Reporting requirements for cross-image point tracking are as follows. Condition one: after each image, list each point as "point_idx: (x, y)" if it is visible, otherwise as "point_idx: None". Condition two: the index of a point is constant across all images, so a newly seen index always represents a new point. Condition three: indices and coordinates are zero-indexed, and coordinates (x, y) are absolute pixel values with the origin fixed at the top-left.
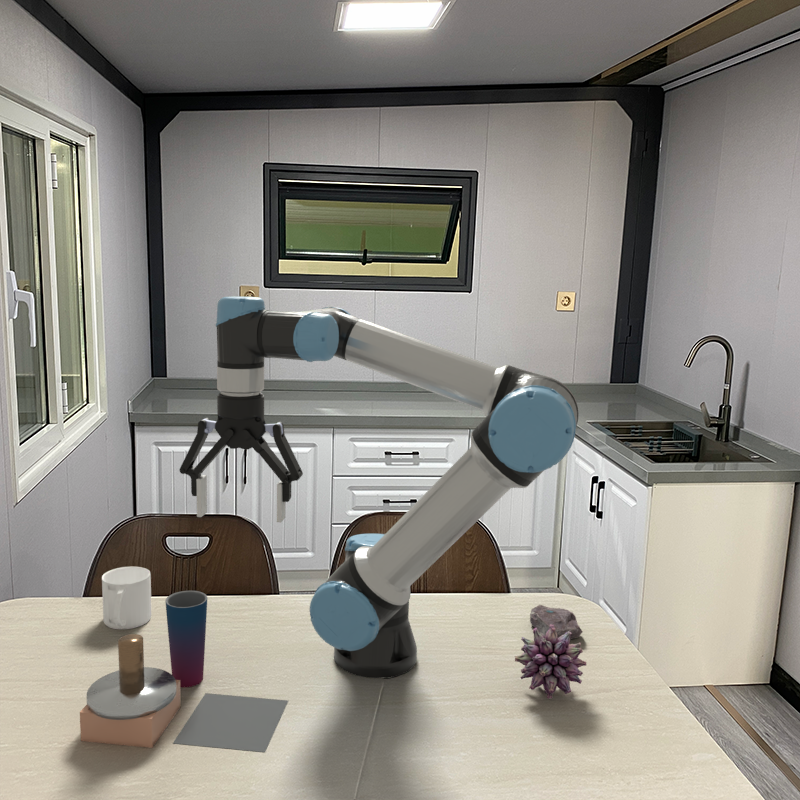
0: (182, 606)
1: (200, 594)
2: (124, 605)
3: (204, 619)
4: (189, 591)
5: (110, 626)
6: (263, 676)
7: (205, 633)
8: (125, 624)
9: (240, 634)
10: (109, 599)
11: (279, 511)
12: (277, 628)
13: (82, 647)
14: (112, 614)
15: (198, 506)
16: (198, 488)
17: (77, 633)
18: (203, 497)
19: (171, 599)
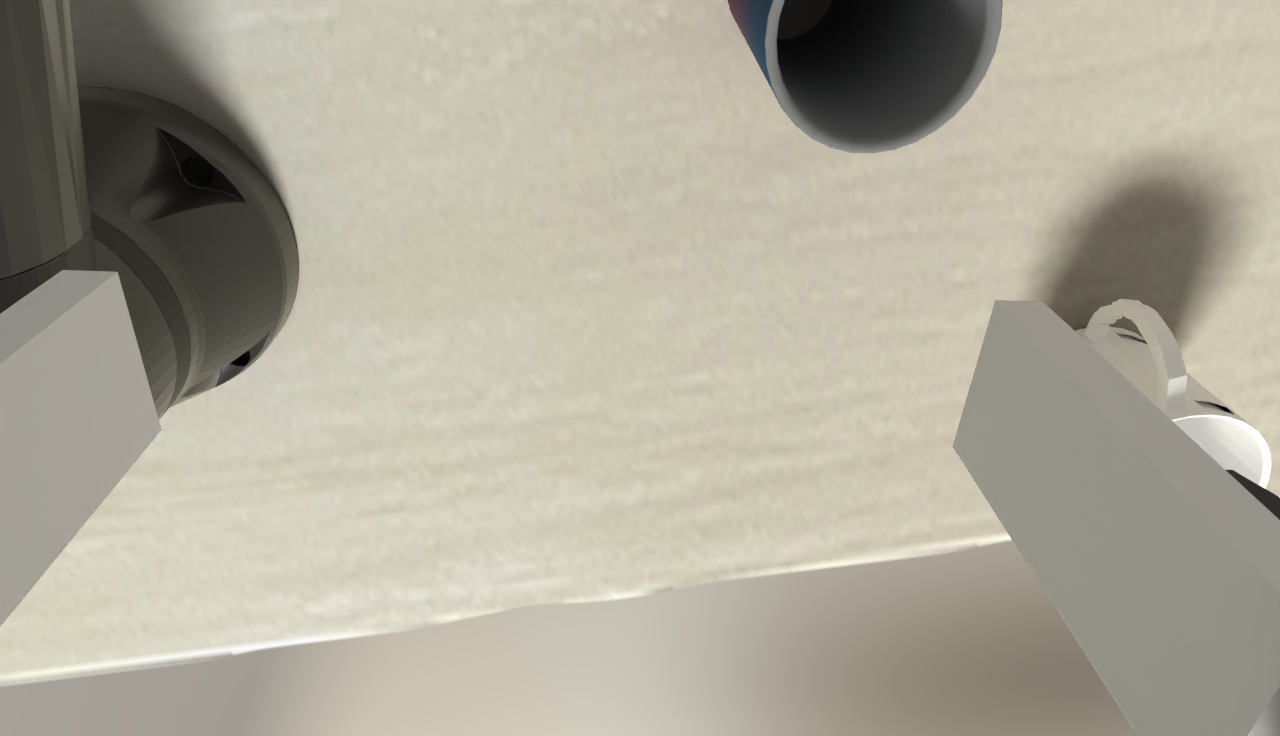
0: (895, 102)
1: (817, 124)
2: (1125, 372)
3: (755, 2)
4: (884, 143)
5: (1132, 332)
6: (508, 60)
7: (745, 28)
8: (1085, 331)
9: (673, 345)
10: (1195, 383)
11: (5, 333)
12: (557, 399)
13: (1210, 190)
14: (1150, 351)
15: (1085, 361)
16: (1239, 509)
17: (1237, 282)
18: (1072, 484)
19: (967, 62)
